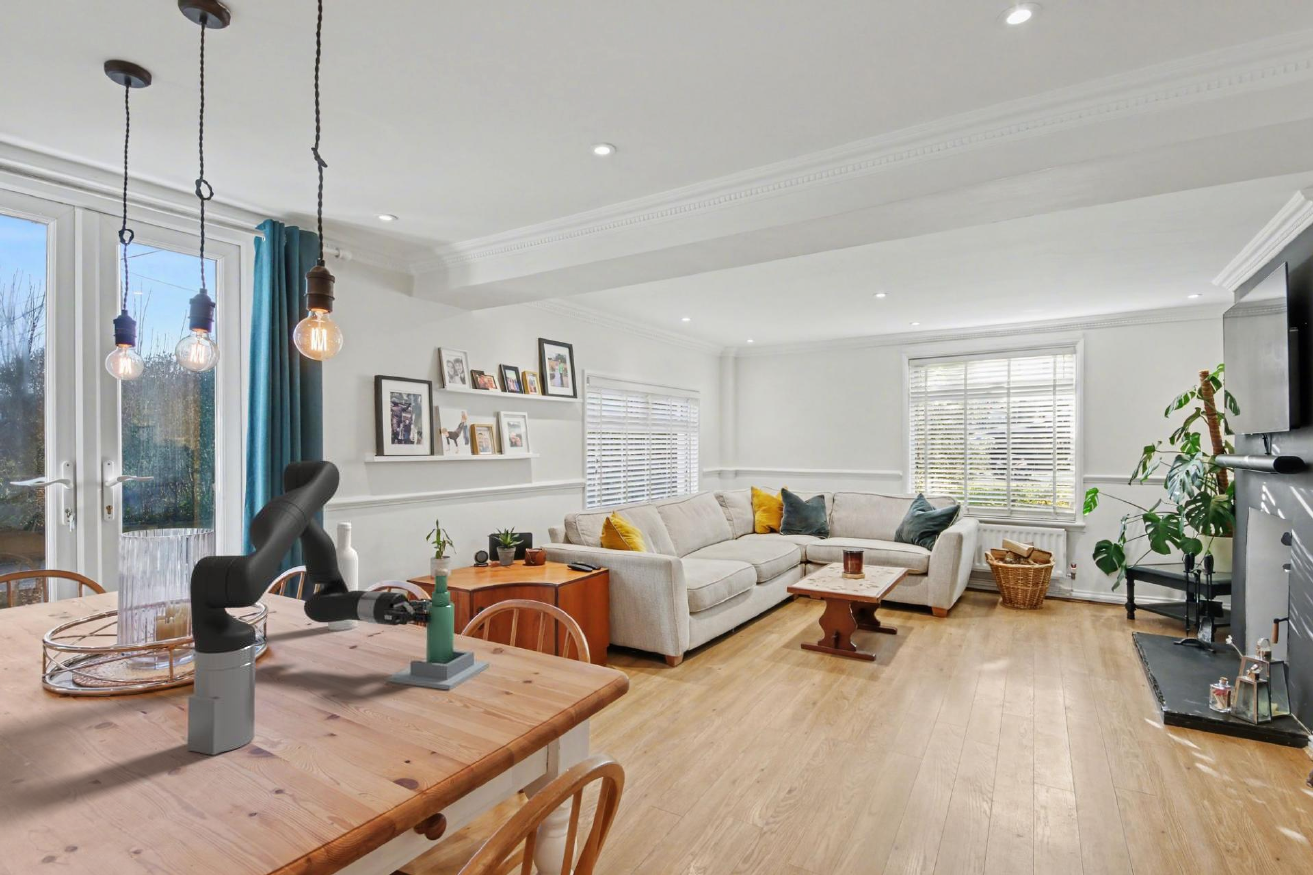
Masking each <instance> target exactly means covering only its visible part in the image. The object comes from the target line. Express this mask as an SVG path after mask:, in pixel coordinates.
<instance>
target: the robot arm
mask: <svg viewBox="0 0 1313 875" xmlns="http://www.w3.org/2000/svg"><path fill="white" fill-rule="evenodd" d="M340 478H341V477H340V471H339V468H338V466H336V464H334V463H333V462H331V461H328V460H306V461H305V460H304V461H293V462H289V463H288V464H287V465H286V466H285V468H284V470H283V473H282V484H283V485H282V487H283V492H284V493H283V494H281V495H278V496H276V497H274V498H272V499H271V500H269V501H268V502H267V503H266V504H265V505H264V506H263V507H261V508H260V510H259V511H258V512H257V513H256V514H255V516H254V517H253V518H252V520H251V522H250V524H249V529H248V535H249V537H250V538H249V539H250V541H251V544H252V546H253V547H254V548H253V549H255V550H254V551H253V552H251V553H249V554H246V555H242V554H241V555H209V556H207V555H206V556H204V557H202V558H200V559H199V560H198V561H197V562H196V564H195V565H194V567H193V570H192V573H191V577H190V584H189V593H190V594H189V596H190V612H191V613H190V614H191V634H192V638H193V641H194V661H193V662H194V666H193V668H194V669H193V670H194V671H193V673H194V676H193V693H192V694H190V695H189V696H188V698H187V700H188V703H187V704H188V706H187V708H188V710H187V751H191V752H196V753H202V754H207V755H212V756H215V755H217V754H219V753H223V752H228V751H231V750H235V749H238V748H241V747H243V746H246V745H247V744H249V743H251V741H253V740H254V738H255V718H256V717H255V715H256V714H255V711H256V710H255V707H256V706H255V704H256V703H255V702H256V701H255V699H256V640H257V638H256V635H257V634H256V628H255V627H254V626H253V625H252V624H250V623H248V622H245V621H241V620H239V619H237V618H235V617H233V616H232V615H231V614H230V613H228V612H227V610H226V609H240V608H241V609H242V608H248V607H251V606H254V605H255V604H256V603H258V602H259V600H260V599H261V598H262V597H263V595H264V594H265V592H266V590H267V589H268V586H269V585H270V583H271V582H272V579H273V578H274V575H275V574H276V572H277V569H278V568H279V566H280V565H281V563H282V561H283V560H284V559H285V556H286V555H287V554H288V553H289V551H290V549H291V548H292V547H293V546H294V544H295V543H296V542H297V541H298V539H299V541H300V543H301V547H302V554H303V560H304V566H305V572H306V577H307V581H309V582H310V583H311V584H315V585H322V584H323V586H322V588H321V589H320V590H317V591H316V592H315V593H313V594H311V595H310V596H309V597H307V598H306V600H305V601H304V605H303V610H304V613H305V615H306V616H307V617H308V618H309V619H310V620H312V621H314V622H317V623H327V624H328V622H336V621H343V620H358V621H359V622H360V621H361V622H366V623H370V624H375V625H376V624H377V625H386V626H398V625H403V626H406V625H407V624H408V623H410V624H413V623H421V624H427V623H429V622H430V621H431V614H430V613H427V605H428V604H431V603H432V598H419V600H416V599H415V600H413V599H412V600H409V599H408V597H407V596H406V595H405V594H404V593H401V592H392V591H382V590H381V591H379V590H378V591H376V590H375V591H369V590H368V591H367V590H358V591H350V592H349V590H348V588H347V586H346V584H345V582H344V580H343V578H342V575H341V573H340V572H339V569H338V562H337V555H336V546H335V543H334V541H333V539H332V538H331V537H330V535H329V534H328V532H327V531H326V530H325V529H324V528H323V527H322V526H321V525H320V523H318V521H317V520H316V519H315V516H316V514H317V513H318V512H319V511H320V510H321V509H322V508H323V507H324V506H325V505H326V504H327V503H328V502H329V501H330V500H331V499H332V498H333V497H334V496H335V494H336V492H337V490H338V488H339V485H340Z"/></svg>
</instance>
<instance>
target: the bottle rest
mask: <svg viewBox="0 0 1313 875" xmlns="http://www.w3.org/2000/svg"><path fill="white" fill-rule="evenodd" d="M489 667H490V662H485V661H478V660H475V652H474V651H466V650H457V649H454V652H453V661H451V662H449V663H447V664H440V663H432V662H426V658H425V659H423V660H411V661H410V666H408V667H407V668H405V669H402V670H400V671H399V672H396V673H394V674H391V675H390V676H388V683H397V684H403V685H411V686H420V687H425V688H435V689H441V690H449V691H450V690H451V691H452V689H454V688H456V687H457V686H460V685H461V684H462V683H464V682H466V681H468V680H469V679H471V678H473V677H474V676H476V675H479V674H480V673H481V672H483V671H485V670H486V669H487V668H489Z"/></svg>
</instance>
